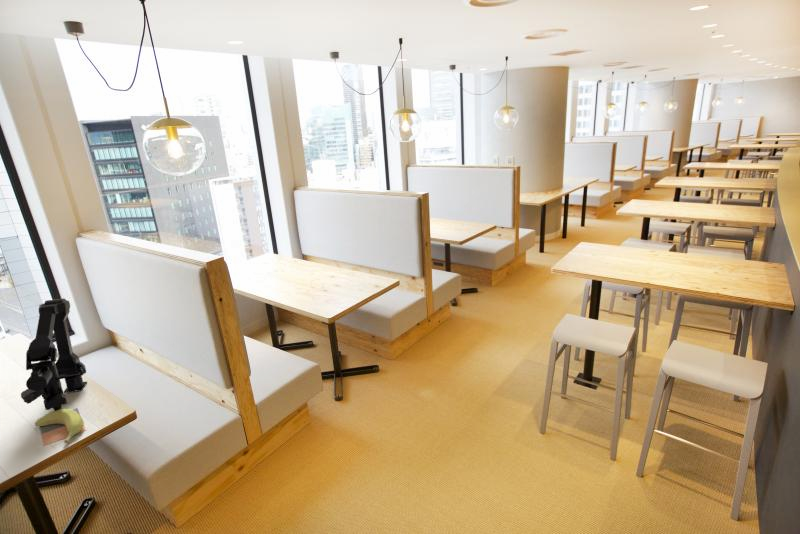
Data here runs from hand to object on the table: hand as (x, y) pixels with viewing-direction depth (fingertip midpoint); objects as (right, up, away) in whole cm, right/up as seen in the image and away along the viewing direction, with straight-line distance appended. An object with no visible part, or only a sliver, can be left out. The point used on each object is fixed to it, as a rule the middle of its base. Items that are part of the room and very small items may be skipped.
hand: (58, 412), depth 163 cm
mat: (+2, -3, -1) cm, 3 cm away
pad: (+8, -5, -7) cm, 12 cm away
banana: (+7, -5, -7) cm, 11 cm away
